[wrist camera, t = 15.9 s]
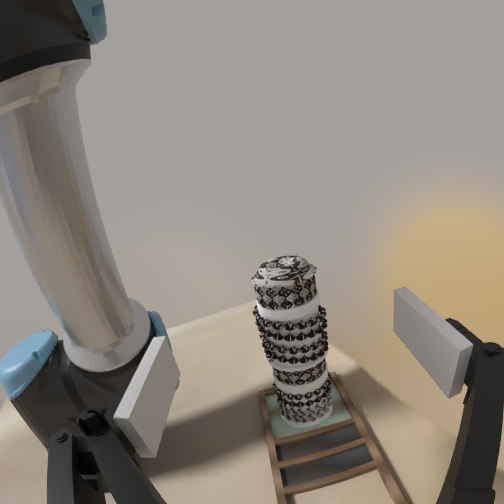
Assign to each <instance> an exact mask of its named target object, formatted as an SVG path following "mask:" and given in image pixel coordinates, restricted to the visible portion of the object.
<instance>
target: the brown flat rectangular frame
mask: <svg viewBox="0 0 504 504" xmlns="http://www.w3.org/2000/svg"><path fill="white" fill-rule="evenodd" d="M330 374H331V376H330V380H331V385H329V386H331V389H332V392H331V393H329V395H332V397H333V398H332V399H330V400H331V401H332V403H333V404H332V412H331V414H330V416H329V417H328V418H327V419H326V420H325V421H324V422H322V423H321V424H319V425H316V426H313V427H310V428H297V427H293V426H290V425H288V424H287V423H286V422H284V421H283V419H282V417H281V414H280V410H279V409H278V403H277V401H276V399H277V395H276V394H275V388H272V389H268V390H263V391H259V398H260V404H261V410H262V416H263V422H264V428H265V434H266V440H267V446H268V451H269V457H270V463H271V468H272V474H273V480H274V485H275V491H276V496H277V502H278V504H287V501H286V497H285V496H289V495H294V494H298V493H302V492H307V491H310V490H314V489H318V488H322V487H325V486H329V485H332V484H335V483H339V482H342V481H345V480H348V479H351V478H354V477H357V476H359V475H362V474H365V473H368V472H370V471H373V470H375V469H377V470H378V472H379V474H380V476H381V478H382V480H383V482H384V484H385V486H386V488H387V490H388V492H389V494H390V496H391V498H392V500H393V502H394V504H407V503H406V501H405V499H404V497H403V495H402V493H401V491H400V490H399V488H398V486H397V484H396V482H395V480H394V478H393V476H392V475H391V473H390V471H389V469H388V467H387V465H386V463H385V462H384V460H383V458H382V456H381V454H380V452H379V450H378V449H377V447H376V445H375V443H374V441H373V439H372V438H371V436H370V434H369V432H368V430H367V428H366V427H365V425H364V423H363V421H362V419H361V417H360V416H359V414H358V412H357V410H356V408H355V407H354V405H353V403H352V401H351V399H350V398H349V396H348V394H347V392H346V390H345V389H344V387H343V385H342V383H341V381H340V380H339V378H338V376H337V374H336V372H333V373H330Z"/></svg>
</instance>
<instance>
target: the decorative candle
mask: <svg viewBox="0 0 504 504" xmlns="http://www.w3.org/2000/svg"><path fill="white" fill-rule="evenodd" d="M315 273H316V267H315V266H314V265H312V264H309V263H308V262H307V261H306V260H305V259H303V258H302V257H300V256H283V257H278V258H274V259H271V260H268V261H266V262H264V263H263V264H261V265H260V267H259V269H258V271H257V274H256V275H254V276H253V277H252V279H251V282H252V284H253V285H254V288H255V292H256V296H257V302H256V303H257V305H256V306H255V308H254V309H255V310H254V311H253V315H254V316H256V322H255V323H256V325H257V326H258V330H259V331H260V332H262V333H261V334H260V338H261V339H263V341H262V342H263V343H262V346H263V347H264V348H265V349H264V351H265V353H266V354H267V355H266V357H267V359H268V361H269V364H270V365H271V366H272V367H273V371H274V372H273V377H274V381H275V382H274V383H273V387H275V394H276V395H277V399H276V401H277V403H278V409H279V410H280V414H281V417H282V419H283V421H284V422H286V423H287V424H288V425H290V426H293V427H297V428H310V427H313V426H316V425H319V424H321V423H322V422H324V421H325V420H326V419H327V418H328V417H329V416H330V414H331V412H332V404H333V403H332V401H331V400H330V399H332V398H333V397H332V395H329V393H331V392H332V389H331V386H329V385H331V380H330V376H331V374H330V372H328V369H327V362H326V361H325V356H326V355H327V350H328V342H327V341H326V340H327V338H328V337H327V332H326V331H324V329H325V328H326V327H327V320H326V319H325V318H324V317H325V316H326V312H325V311H326V310H325V308H323V307H321V306H320V304H319V293H318V289H316V282H315V276H314V274H315ZM258 312H259V313H258ZM319 312H320V313H321V314H319ZM262 322H263V325H264V326H263V325H262V324H261V323H262ZM320 322H322V324H321V326H320ZM268 346H269V347H268Z"/></svg>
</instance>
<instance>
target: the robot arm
mask: <svg viewBox="0 0 504 504" xmlns="http://www.w3.org/2000/svg"><path fill="white" fill-rule="evenodd" d="M106 35H107V25H106V16H105V9H104V4H103V0H0V198H1V200H2V203H3V206H4V209H5V212H6V215H7V217H8V220H9V222H10V225H11V228H12V230H13V233H14V235H15V237H16V240H17V242H18V244H19V247H20V249H21V251H22V253H23V256H24V258H25V260H26V262H27V264H28V266H29V268H30V270H31V272H32V274H33V276H34V278H35V280H36V282H37V284H38V286H39V288H40V290H41V291H42V293H43V295H44V297H45V299H46V301H47V302H48V304H49V306H50V307H51V309H52V311H53V313H54V314H55V316H56V318H57V319H58V321H59V322H60V324H61V326H62V327H63V329H64V330H65V332H64V338H63V340H60V341H59V340H58V336H57V335H56V334H55V333H54V332H53V331H51V330H47V331H46V330H44V331H40V332H38V333H35V334H33V335H31V336H29V337H28V338H26V339H24V340H23V341H21V342H20V343H19V344H17V345H16V346H15V347H14V348H12V349H11V350H10V351H9V352H8V353H7V354H6V356H5V357H4V358H3V359H2V361H1V362H0V382H1V384H2V386H3V388H4V390H5V392H6V394H7V397H8V399H9V400H10V401H11V402H12V404H13V405H14V407H15V408H16V410H17V411H18V412H19V414H20V415H21V417H22V418H23V419H24V421H25V422H26V423H27V425H28V426H29V427H30V429H31V430H32V431H33V433H34V434H35V435H36V436H37V438H38V439H39V440H40V441H41V443H42V444H43V445H44V446H45V448H46V449H47V452H48V470H47V504H106V501H105V495H104V491H106V490H110V492H111V494H112V496H113V498H114V500H115V501H116V503H117V504H167V503H166V502H165V501H164V499H163V498H162V497H161V495H160V494H159V493H158V491H157V490H156V489H155V487H154V486H153V484H152V483H151V482H150V480H149V479H148V477H147V476H146V474H145V473H144V471H143V470H142V468H141V467H140V465H139V464H138V462H137V461H136V459H135V458H134V453H135V450H136V452H137V453H138V454H139V455H140V457H143V458H156V456H157V452H158V448H159V445H160V441H161V438H162V434H163V431H164V427H165V424H166V420H167V417H168V413H169V410H170V407H171V403H172V400H173V396H174V393H175V391H176V390H177V388H178V386H179V377H180V371H179V369H178V366H177V364H176V361H175V358H174V356H173V354H172V348H171V344H170V341H169V338H168V335H167V332H166V329H165V326H164V324H163V322H162V319H161V317H160V315H159V314H158V313H157V312H155V311H152V312H150V311H146V310H145V308H144V307H143V306H142V305H141V304H140V303H139V302H138V301H136V300H134V299H132V298H129V297H128V296H127V293H126V291H125V288H124V285H123V283H122V280H121V277H120V274H119V272H118V269H117V266H116V263H115V260H114V257H113V254H112V251H111V248H110V245H109V242H108V239H107V235H106V233H105V229H104V226H103V222H102V219H101V216H100V212H99V208H98V205H97V201H96V197H95V193H94V189H93V185H92V181H91V177H90V172H89V168H88V163H87V159H86V154H85V149H84V144H83V139H82V133H81V127H80V121H79V114H78V108H77V100H76V92H75V90H76V84H77V83H78V81H79V80H80V78H81V77H82V75H83V74H84V73H85V71H86V70H87V69H88V67H89V66H90V65H91V56H90V45H91V44H92V45H94V44H97V43H99V42H100V41H102V40H104V39H105V37H106ZM393 331H394V332H395V333H396V334H397V336H398V337H399V338H400V339H401V340H402V342H403V343H404V344H405V345H406V346H407V348H408V349H409V350H410V351H411V352H412V354H413V355H414V356H415V357H416V359H417V360H418V361H419V362H420V363H421V365H422V366H423V367H424V368H425V370H426V371H427V372H428V373H429V375H430V376H431V377H432V378H433V380H434V381H435V382H436V383H437V385H438V386H439V387H440V389H441V390H442V391H443V392H444V394H445V395H446V396H447V398H451V397H453V396H455V395H457V394H459V393H460V392H461V391H462V387H463V384H464V383H465V384H466V386H467V387H468V389H467V392H466V395H465V398H464V402H463V404H464V410H463V415H462V420H461V424H460V429H459V433H458V437H457V441H456V445H455V449H454V452H453V456H452V459H451V463H450V466H449V469H448V472H447V475H446V478H445V481H444V484H443V487H442V489H441V492H440V495H439V497H438V500H437V502H436V504H494V500H495V490H493V489H492V486H493V481H494V477H495V472H496V467H497V461H498V455H499V449H500V441H501V433H502V423H503V408H504V348H502V347H501V346H500V345H498V344H496V343H493V342H488V343H483V342H482V341H481V340H480V339H479V338H477V337H476V336H475V335H474V334H473V333H472V332H470V331H468V329H467V328H466V327H464V326H463V325H462V324H461V323H459V322H458V321H456V320H453V319H451V318H449V319H446V320H445V319H443V318H442V317H441V316H440V315H439V314H437V313H436V312H435V311H434V310H433V309H431V308H430V307H429V306H428V305H427V304H425V303H424V302H423V301H422V300H420V299H419V298H418V297H417V296H415V295H414V294H413V293H412V292H411V291H409V290H408V289H407V288H406V287H403V288H399V289H396V290H394V327H393Z"/></svg>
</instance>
